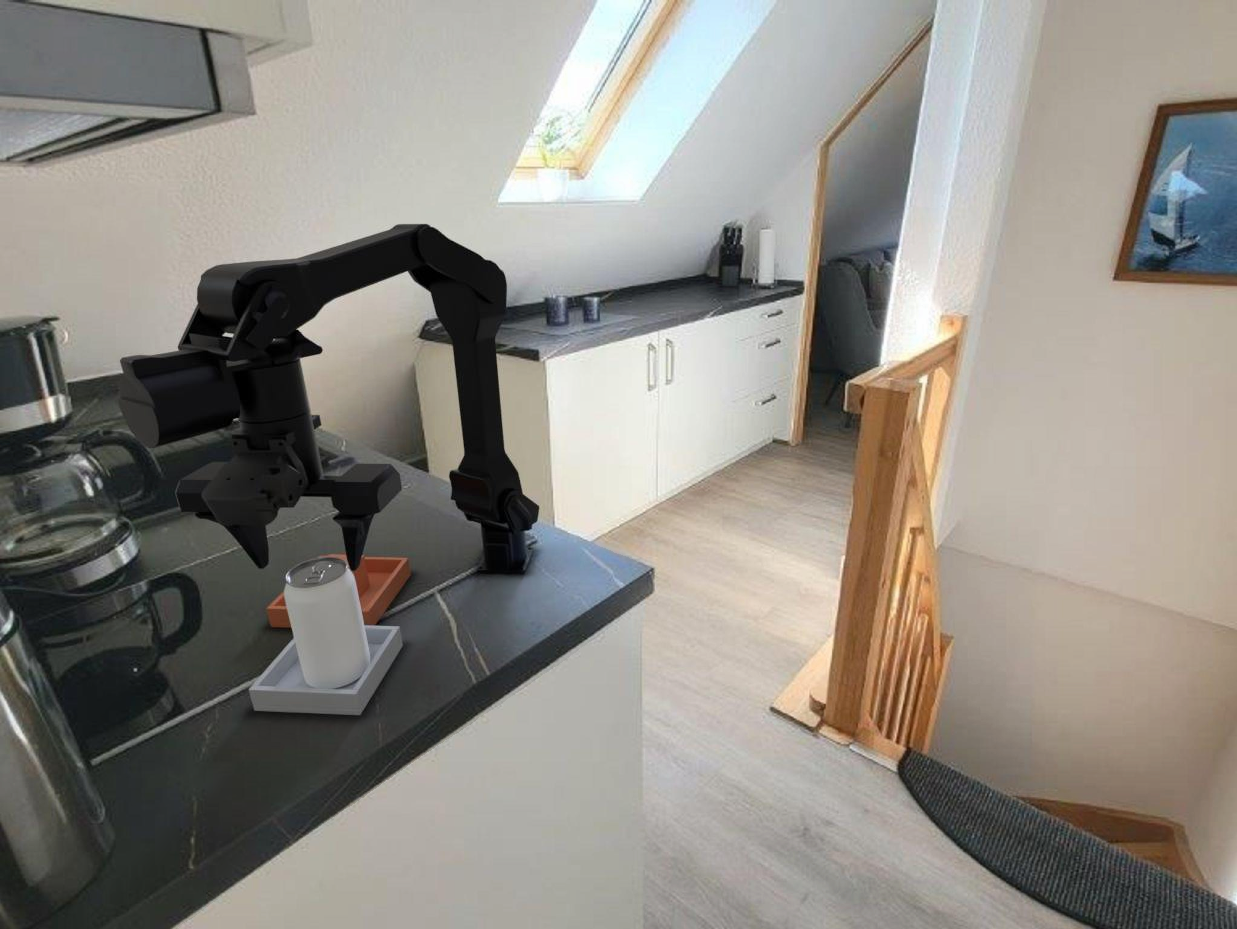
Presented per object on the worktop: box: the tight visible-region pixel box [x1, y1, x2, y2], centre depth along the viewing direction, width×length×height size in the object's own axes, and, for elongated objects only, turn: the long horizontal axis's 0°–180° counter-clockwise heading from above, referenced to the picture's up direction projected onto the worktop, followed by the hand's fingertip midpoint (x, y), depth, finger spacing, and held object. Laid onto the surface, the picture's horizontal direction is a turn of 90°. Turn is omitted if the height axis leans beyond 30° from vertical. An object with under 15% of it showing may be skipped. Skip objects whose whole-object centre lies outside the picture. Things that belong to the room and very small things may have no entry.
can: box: [283, 556, 371, 689], centre depth 65 cm, size 6×6×12 cm
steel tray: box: [248, 625, 404, 716], centre depth 67 cm, size 11×11×3 cm
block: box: [327, 553, 370, 599], centre depth 80 cm, size 4×4×4 cm
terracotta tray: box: [266, 555, 412, 629], centre depth 81 cm, size 12×12×3 cm
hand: (309, 567), depth 63 cm, fingers open, 9 cm apart
